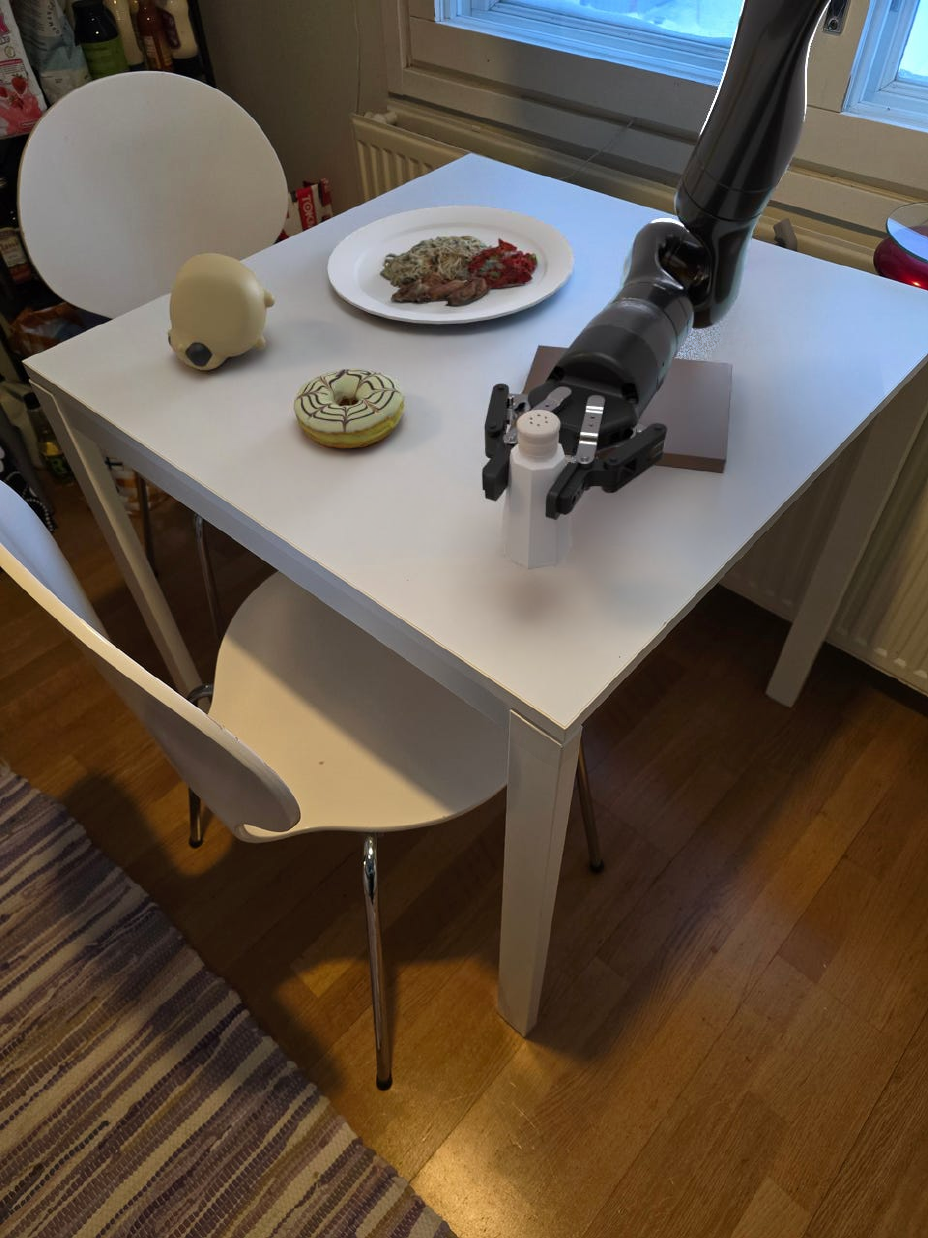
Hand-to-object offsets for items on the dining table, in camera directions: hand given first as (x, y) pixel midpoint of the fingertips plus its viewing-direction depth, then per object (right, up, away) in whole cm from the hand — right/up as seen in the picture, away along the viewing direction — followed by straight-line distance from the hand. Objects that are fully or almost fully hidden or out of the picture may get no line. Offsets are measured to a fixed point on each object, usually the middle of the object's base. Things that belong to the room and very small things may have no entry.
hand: (520, 498), depth 55 cm
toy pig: (-30, +22, +38) cm, 53 cm away
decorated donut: (-15, +11, +28) cm, 34 cm away
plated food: (-5, +35, +48) cm, 60 cm away
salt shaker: (+2, -3, +7) cm, 7 cm away
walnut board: (+12, +13, +28) cm, 33 cm away
